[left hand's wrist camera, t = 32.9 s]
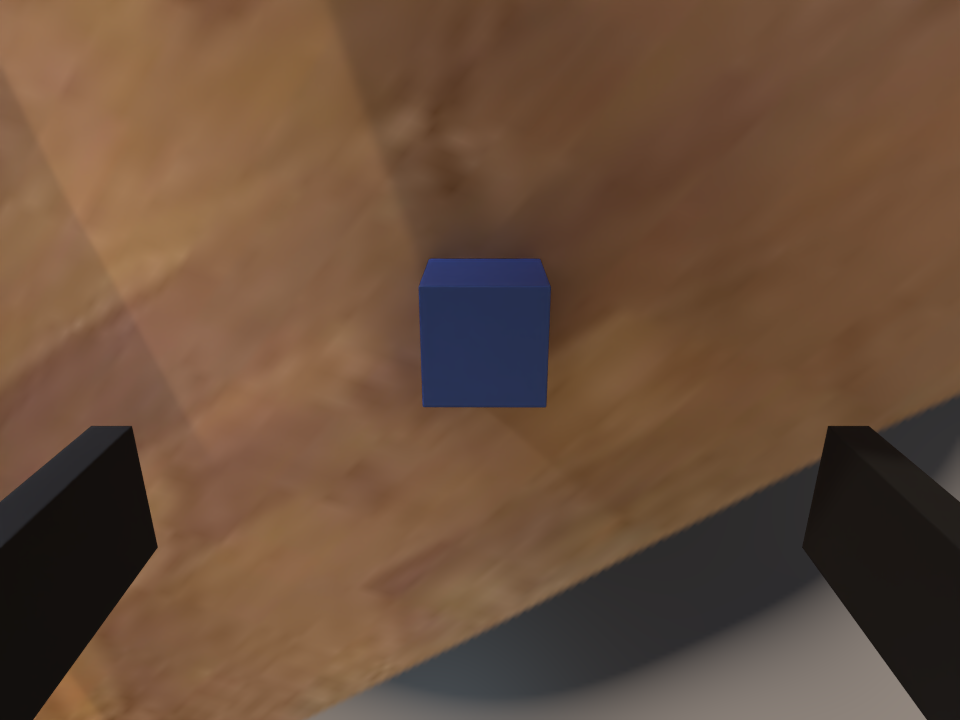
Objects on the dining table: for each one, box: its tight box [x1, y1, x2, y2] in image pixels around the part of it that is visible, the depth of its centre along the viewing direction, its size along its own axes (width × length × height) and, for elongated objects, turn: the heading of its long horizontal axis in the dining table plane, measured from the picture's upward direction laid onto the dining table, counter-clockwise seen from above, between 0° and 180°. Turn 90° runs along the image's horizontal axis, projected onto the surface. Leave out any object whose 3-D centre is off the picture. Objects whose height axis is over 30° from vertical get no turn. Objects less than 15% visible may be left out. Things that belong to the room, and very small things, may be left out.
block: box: [419, 259, 551, 407], centre depth 23 cm, size 4×4×4 cm
